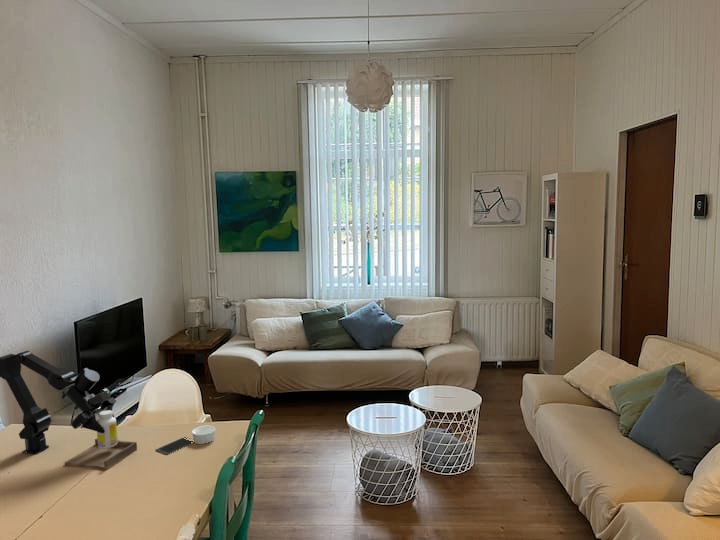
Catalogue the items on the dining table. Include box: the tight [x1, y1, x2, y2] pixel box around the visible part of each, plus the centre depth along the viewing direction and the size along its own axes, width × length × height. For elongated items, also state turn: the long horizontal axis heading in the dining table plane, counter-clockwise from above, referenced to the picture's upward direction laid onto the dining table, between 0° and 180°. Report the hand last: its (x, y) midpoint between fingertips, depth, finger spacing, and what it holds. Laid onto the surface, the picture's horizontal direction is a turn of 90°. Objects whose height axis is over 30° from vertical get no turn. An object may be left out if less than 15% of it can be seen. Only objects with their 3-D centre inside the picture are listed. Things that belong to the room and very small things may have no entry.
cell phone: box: [155, 436, 193, 456], centre depth 197 cm, size 7×14×1 cm, turn 147°
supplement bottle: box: [96, 410, 119, 449], centre depth 189 cm, size 7×7×13 cm
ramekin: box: [191, 425, 216, 445], centre depth 201 cm, size 9×9×4 cm
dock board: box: [64, 437, 138, 471], centre depth 188 cm, size 18×16×3 cm
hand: (110, 428), depth 189 cm, fingers closed on supplement bottle, 7 cm apart
